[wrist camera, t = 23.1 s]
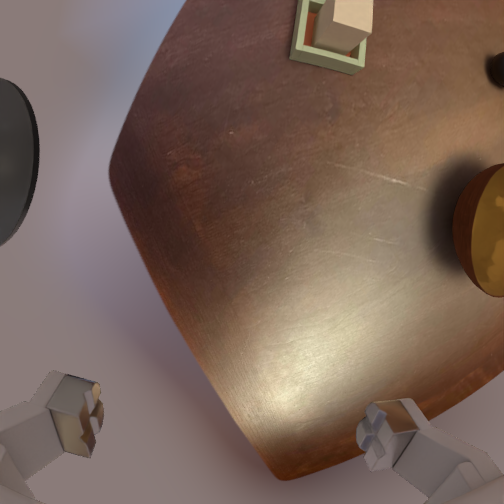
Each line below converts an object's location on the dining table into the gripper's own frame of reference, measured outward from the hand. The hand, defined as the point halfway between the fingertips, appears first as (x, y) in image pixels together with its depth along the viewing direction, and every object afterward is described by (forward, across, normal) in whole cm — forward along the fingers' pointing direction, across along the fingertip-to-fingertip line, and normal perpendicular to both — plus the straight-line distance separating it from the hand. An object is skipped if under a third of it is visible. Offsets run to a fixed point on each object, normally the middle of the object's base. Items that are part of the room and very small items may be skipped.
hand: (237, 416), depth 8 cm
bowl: (+30, -35, -6) cm, 47 cm away
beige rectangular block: (+30, -8, -25) cm, 40 cm away
